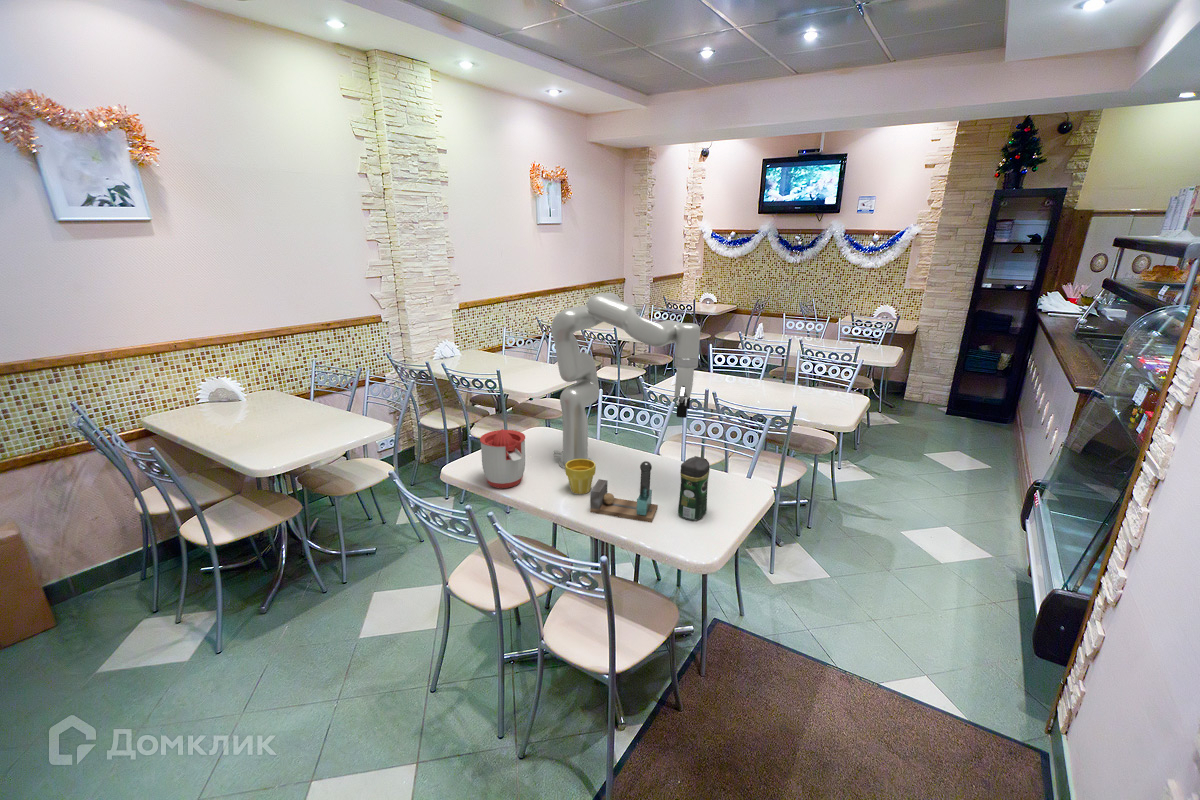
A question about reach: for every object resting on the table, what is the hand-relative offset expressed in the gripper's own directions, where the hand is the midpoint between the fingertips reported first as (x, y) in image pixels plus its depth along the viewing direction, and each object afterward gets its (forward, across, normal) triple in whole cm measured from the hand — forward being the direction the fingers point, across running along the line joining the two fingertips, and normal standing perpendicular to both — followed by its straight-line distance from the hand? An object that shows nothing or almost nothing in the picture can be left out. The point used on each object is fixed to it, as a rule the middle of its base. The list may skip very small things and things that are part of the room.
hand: (683, 412), depth 170 cm
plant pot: (+29, +9, -33) cm, 45 cm away
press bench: (+29, +19, -15) cm, 37 cm away
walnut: (+27, +19, -20) cm, 39 cm away
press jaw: (+27, +19, -9) cm, 34 cm away
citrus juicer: (+29, +11, -60) cm, 67 cm away
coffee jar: (+29, +14, +6) cm, 33 cm away
